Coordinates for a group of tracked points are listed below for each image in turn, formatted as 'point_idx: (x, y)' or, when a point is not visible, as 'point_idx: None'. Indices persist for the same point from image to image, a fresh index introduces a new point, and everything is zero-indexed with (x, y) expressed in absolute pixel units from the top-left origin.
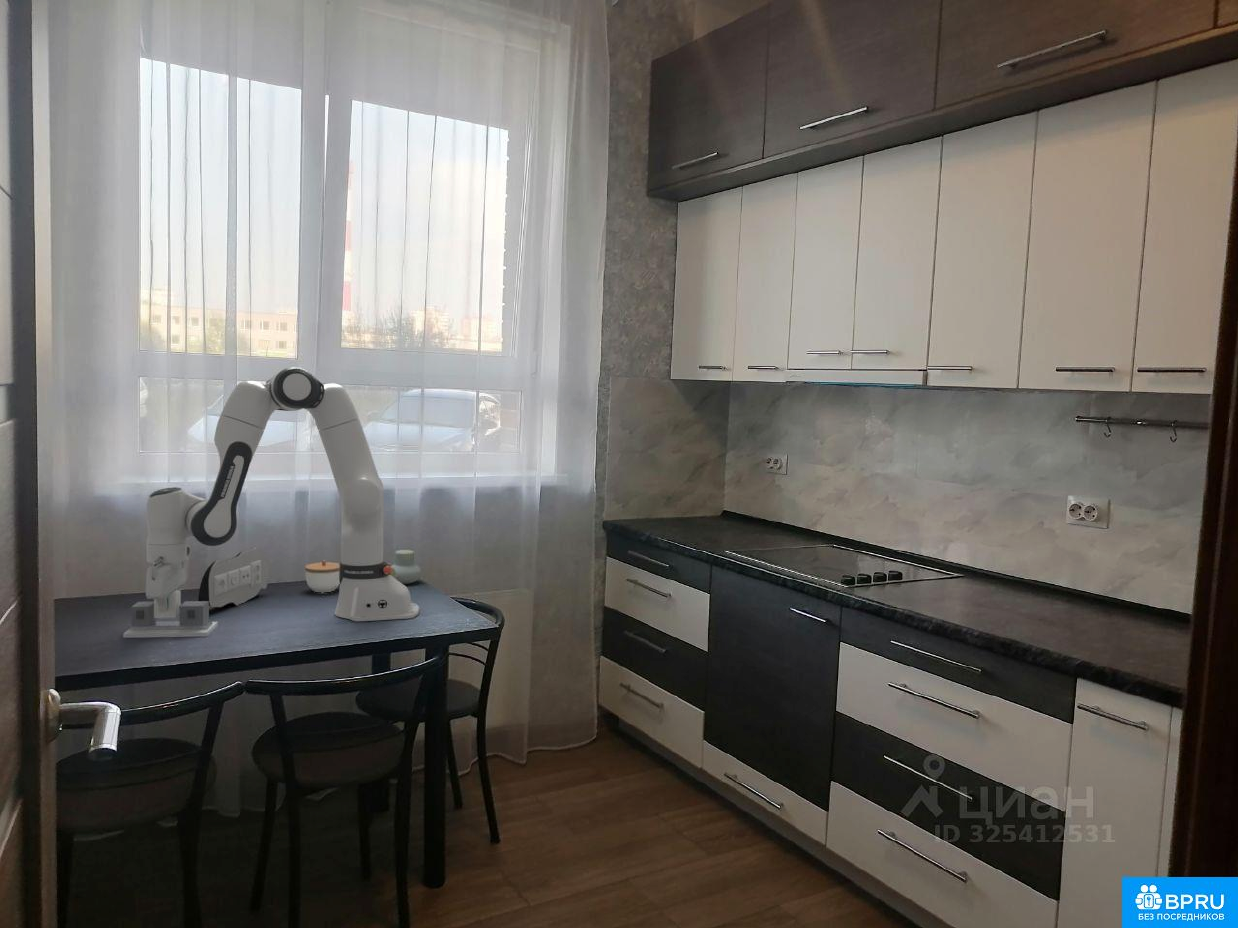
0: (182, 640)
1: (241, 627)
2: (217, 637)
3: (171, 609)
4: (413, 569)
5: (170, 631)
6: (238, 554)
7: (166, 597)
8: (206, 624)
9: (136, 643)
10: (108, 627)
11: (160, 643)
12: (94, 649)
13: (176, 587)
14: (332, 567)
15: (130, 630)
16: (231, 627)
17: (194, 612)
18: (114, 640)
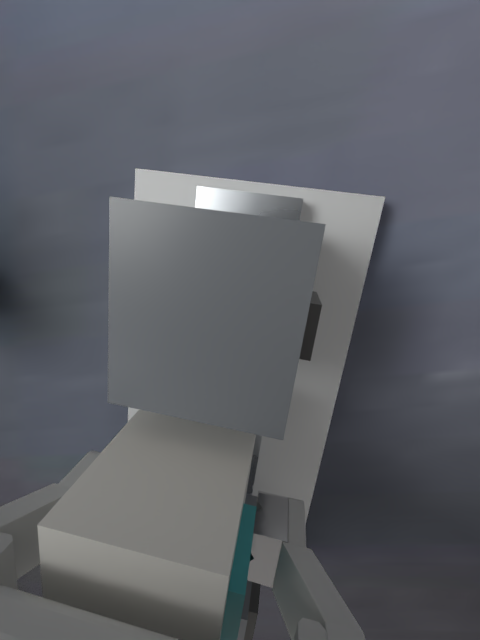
0: (423, 322)
1: (204, 3)
2: (421, 127)
3: (249, 469)
4: None
5: (303, 395)
6: None
7: (327, 637)
8: (280, 212)
9: (408, 506)
10: None
11: (447, 417)
12: (451, 628)
13: (39, 608)
14: None
15: None
16: (195, 77)
17: (311, 299)
18: (328, 572)
